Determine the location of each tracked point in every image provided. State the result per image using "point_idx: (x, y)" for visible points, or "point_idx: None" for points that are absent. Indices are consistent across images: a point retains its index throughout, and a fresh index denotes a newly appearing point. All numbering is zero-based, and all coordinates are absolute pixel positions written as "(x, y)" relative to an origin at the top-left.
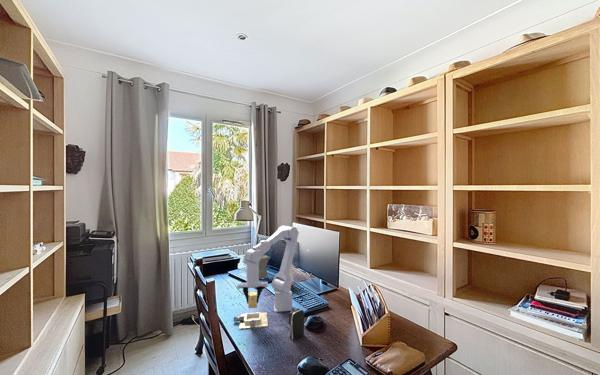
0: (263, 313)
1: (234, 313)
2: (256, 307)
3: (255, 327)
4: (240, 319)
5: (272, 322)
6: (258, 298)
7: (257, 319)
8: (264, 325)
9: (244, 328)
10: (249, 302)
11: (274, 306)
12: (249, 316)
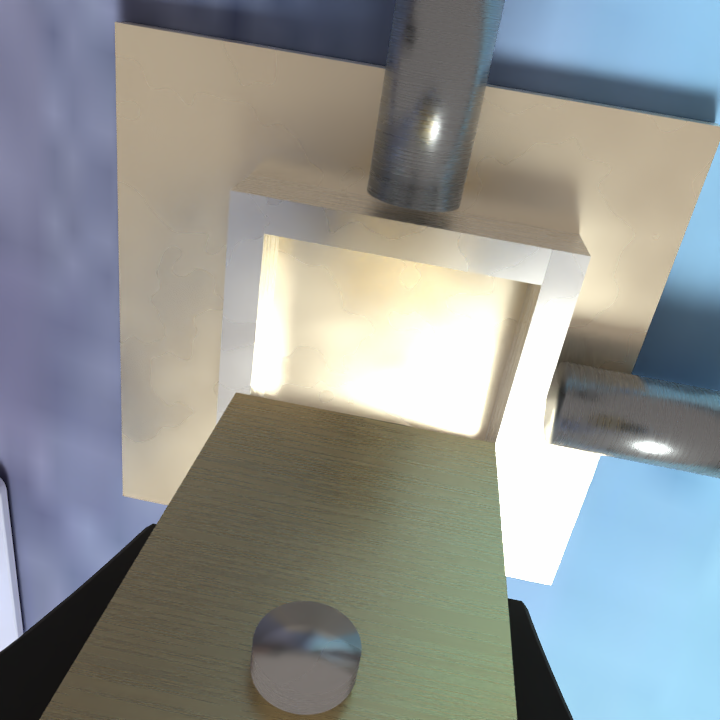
0: (179, 481)
1: (633, 656)
2: (246, 399)
3: (376, 66)
4: (638, 384)
5: (37, 168)
6: (48, 626)
7: (298, 232)
8: (182, 52)
9: (608, 106)
10: (463, 570)
11: (3, 602)
12: None
